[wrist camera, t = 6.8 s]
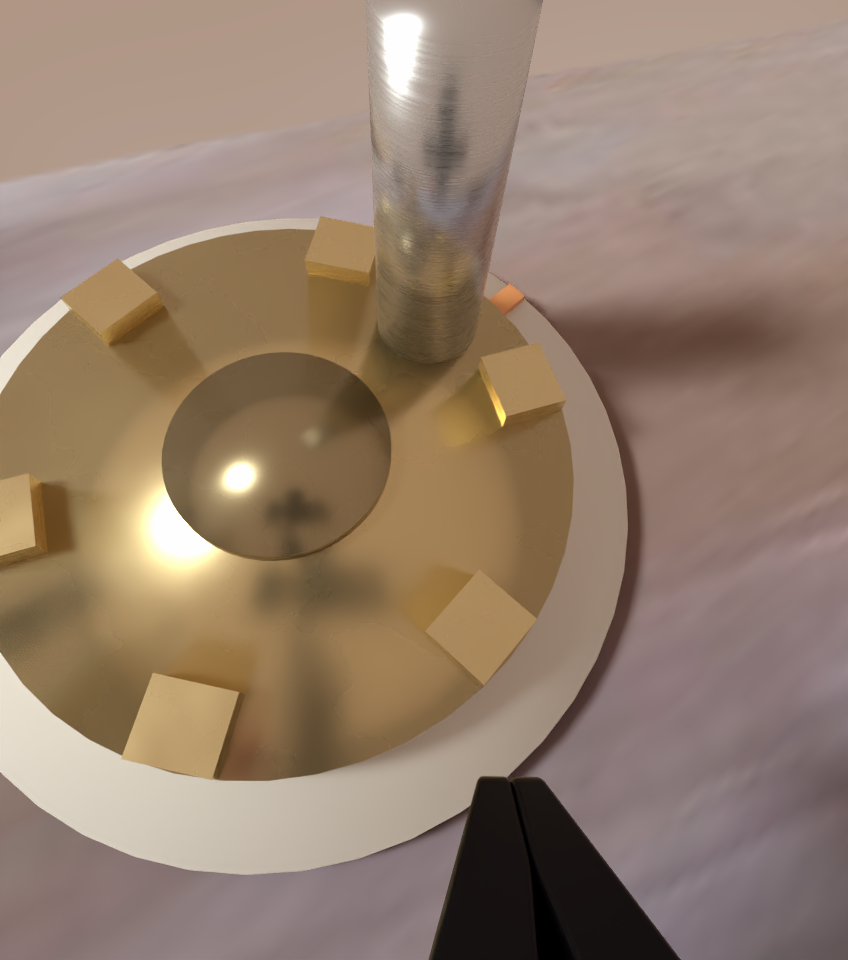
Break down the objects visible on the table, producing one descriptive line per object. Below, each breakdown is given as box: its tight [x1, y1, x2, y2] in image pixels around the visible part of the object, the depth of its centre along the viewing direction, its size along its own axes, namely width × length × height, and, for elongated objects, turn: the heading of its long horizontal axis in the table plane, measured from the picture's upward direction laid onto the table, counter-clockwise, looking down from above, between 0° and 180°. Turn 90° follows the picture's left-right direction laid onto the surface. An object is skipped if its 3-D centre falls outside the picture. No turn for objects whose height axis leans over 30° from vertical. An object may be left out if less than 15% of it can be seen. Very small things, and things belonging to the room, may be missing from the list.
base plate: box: [0, 219, 628, 875], centre depth 18 cm, size 20×20×1 cm
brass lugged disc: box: [0, 0, 574, 781], centre depth 13 cm, size 16×16×10 cm
